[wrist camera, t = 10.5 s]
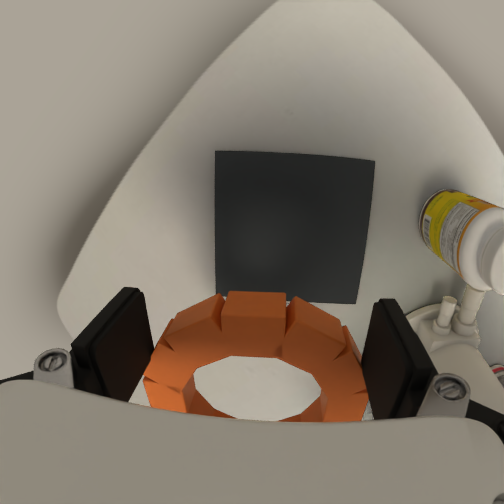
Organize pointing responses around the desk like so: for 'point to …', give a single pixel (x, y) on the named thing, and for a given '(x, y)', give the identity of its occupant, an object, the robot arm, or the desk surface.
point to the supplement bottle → (466, 237)
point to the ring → (258, 352)
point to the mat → (291, 224)
